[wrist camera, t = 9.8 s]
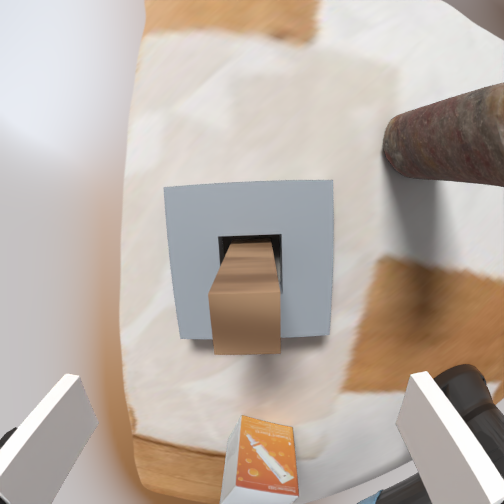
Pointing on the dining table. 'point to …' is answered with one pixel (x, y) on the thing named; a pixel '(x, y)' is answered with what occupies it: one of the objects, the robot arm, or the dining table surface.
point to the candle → (451, 139)
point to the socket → (253, 223)
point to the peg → (246, 300)
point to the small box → (260, 464)
